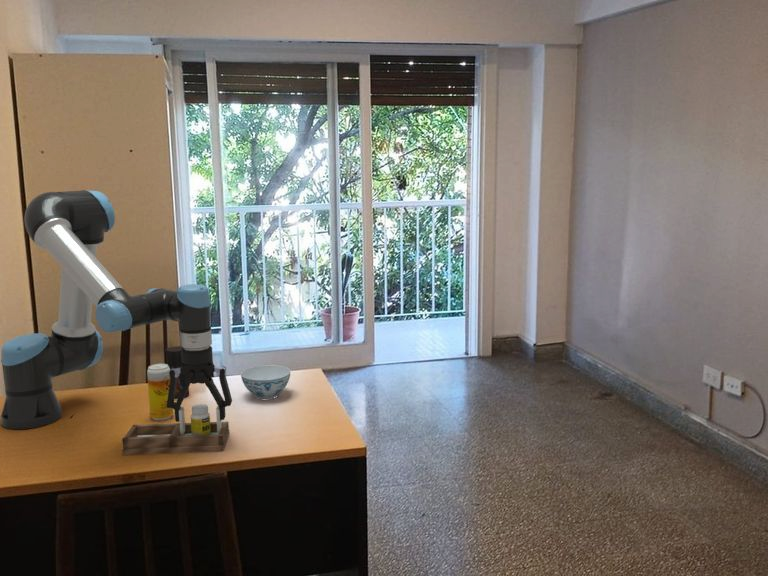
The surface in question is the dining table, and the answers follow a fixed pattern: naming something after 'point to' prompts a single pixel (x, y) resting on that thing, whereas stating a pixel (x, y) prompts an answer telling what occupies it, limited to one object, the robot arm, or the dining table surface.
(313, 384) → the dining table surface
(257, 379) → the chinaware
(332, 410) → the dining table surface
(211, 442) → the divided tray
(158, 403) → the yellow canister
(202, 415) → the supplement bottle
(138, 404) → the dining table surface
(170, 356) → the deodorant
